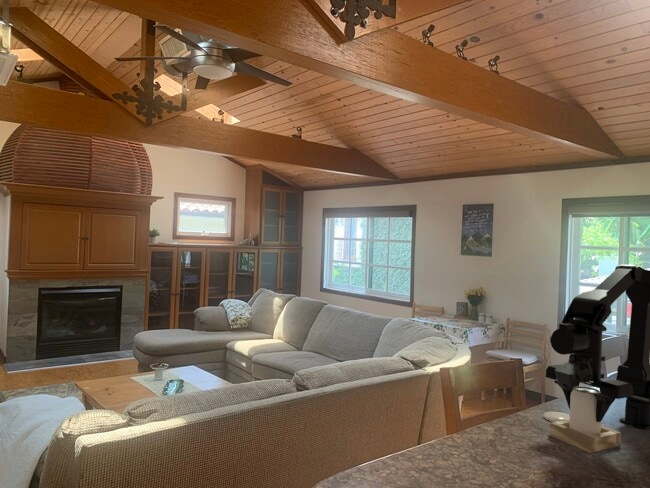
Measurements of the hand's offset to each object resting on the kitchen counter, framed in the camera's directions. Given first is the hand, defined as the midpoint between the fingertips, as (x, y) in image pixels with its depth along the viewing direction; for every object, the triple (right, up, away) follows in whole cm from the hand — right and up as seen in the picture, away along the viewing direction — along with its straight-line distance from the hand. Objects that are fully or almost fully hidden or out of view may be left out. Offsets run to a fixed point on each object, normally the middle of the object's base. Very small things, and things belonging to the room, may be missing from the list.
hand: (585, 416), depth 116 cm
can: (0, -6, 0) cm, 6 cm away
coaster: (+1, -6, +14) cm, 15 cm away
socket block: (0, -6, 0) cm, 6 cm away
